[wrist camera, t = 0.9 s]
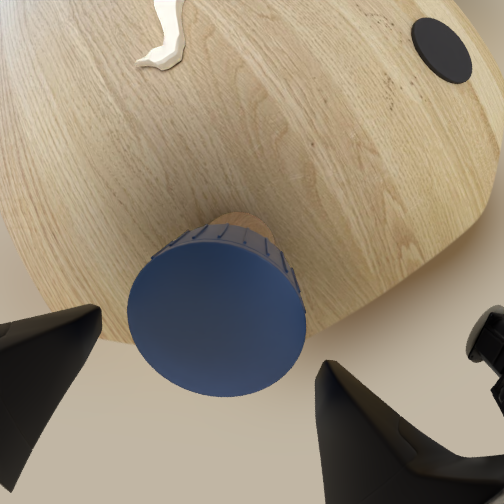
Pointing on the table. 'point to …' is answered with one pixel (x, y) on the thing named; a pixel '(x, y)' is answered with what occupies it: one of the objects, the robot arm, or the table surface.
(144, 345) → the lid
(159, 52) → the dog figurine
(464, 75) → the coaster
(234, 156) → the table surface
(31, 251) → the table surface
